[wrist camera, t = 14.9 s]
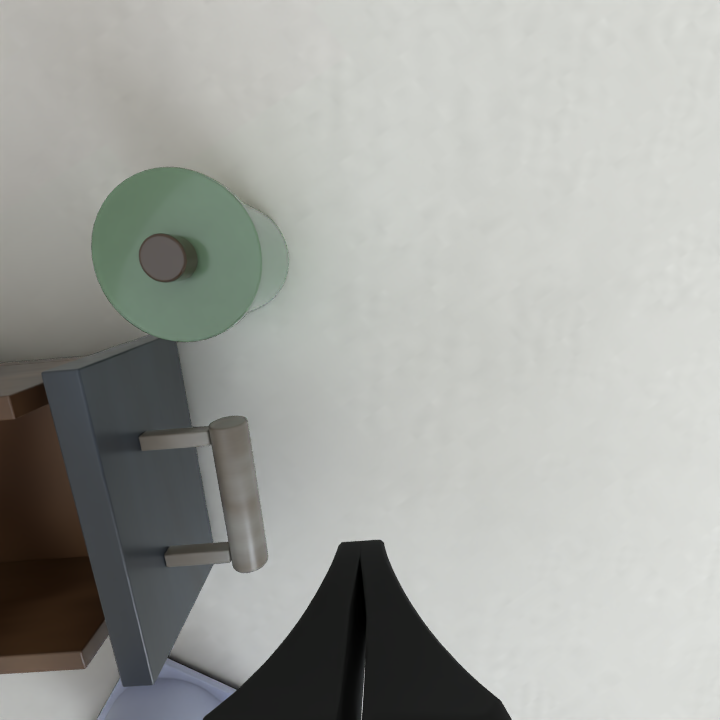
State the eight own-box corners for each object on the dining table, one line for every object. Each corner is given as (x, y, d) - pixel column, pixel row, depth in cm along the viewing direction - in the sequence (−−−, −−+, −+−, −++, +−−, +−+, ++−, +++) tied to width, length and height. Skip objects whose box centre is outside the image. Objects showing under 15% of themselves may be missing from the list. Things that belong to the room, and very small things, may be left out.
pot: (315, 237, 19) (286, 223, 12) (261, 337, 20) (205, 379, 13) (209, 174, 19) (111, 119, 11) (159, 280, 20) (41, 292, 13)
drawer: (262, 324, 19) (209, 357, 13) (293, 553, 22) (263, 679, 15) (-92, 354, 20) (-320, 401, 13) (-19, 575, 22) (-178, 706, 16)
